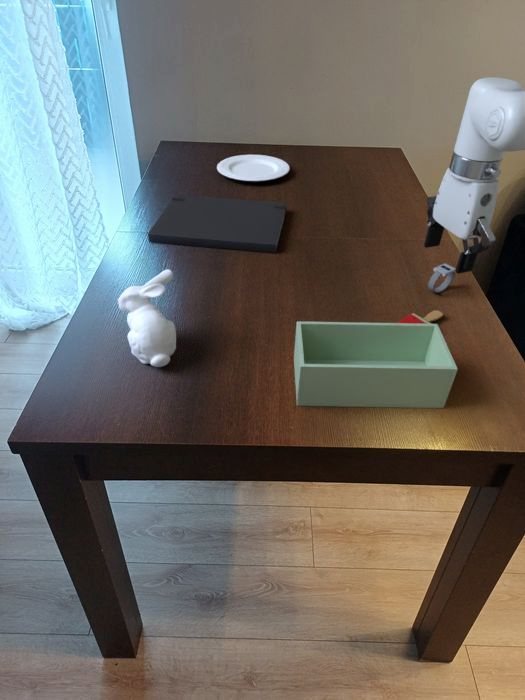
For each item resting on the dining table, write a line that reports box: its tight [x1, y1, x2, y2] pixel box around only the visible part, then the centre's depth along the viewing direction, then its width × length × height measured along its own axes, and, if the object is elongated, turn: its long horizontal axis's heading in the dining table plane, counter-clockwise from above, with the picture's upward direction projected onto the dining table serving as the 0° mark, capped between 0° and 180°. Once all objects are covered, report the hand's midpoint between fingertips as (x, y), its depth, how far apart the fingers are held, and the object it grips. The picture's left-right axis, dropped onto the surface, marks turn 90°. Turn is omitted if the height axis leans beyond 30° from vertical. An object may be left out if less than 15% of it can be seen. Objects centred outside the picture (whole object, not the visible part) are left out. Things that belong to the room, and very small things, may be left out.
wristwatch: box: [427, 263, 456, 294], centre depth 94 cm, size 6×3×5 cm, turn 126°
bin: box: [293, 320, 458, 409], centre depth 72 cm, size 21×10×8 cm, turn 90°
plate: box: [216, 154, 291, 184], centre depth 141 cm, size 21×21×2 cm
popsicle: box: [397, 309, 444, 324], centre depth 85 cm, size 4×2×15 cm
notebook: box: [147, 194, 287, 254], centre depth 114 cm, size 22×2×28 cm
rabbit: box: [117, 269, 177, 368], centre depth 76 cm, size 12×9×12 cm
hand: (446, 258), depth 91 cm, fingers open, 9 cm apart
